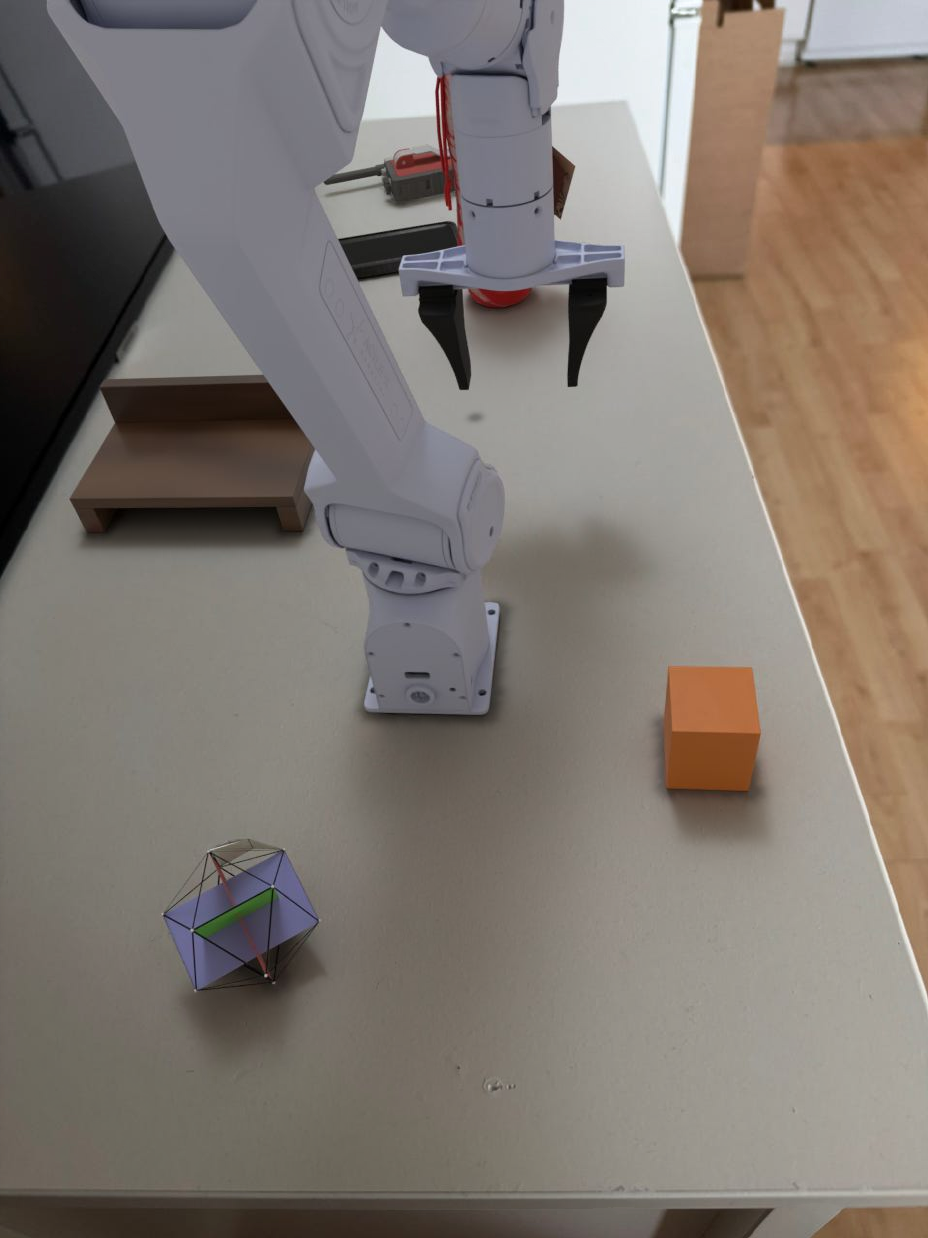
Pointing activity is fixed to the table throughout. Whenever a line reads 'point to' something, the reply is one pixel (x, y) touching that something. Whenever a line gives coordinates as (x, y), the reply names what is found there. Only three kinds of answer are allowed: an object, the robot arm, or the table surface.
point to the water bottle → (561, 186)
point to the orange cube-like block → (710, 728)
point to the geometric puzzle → (240, 915)
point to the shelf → (196, 450)
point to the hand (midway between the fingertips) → (518, 380)
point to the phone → (396, 246)
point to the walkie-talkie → (406, 173)
